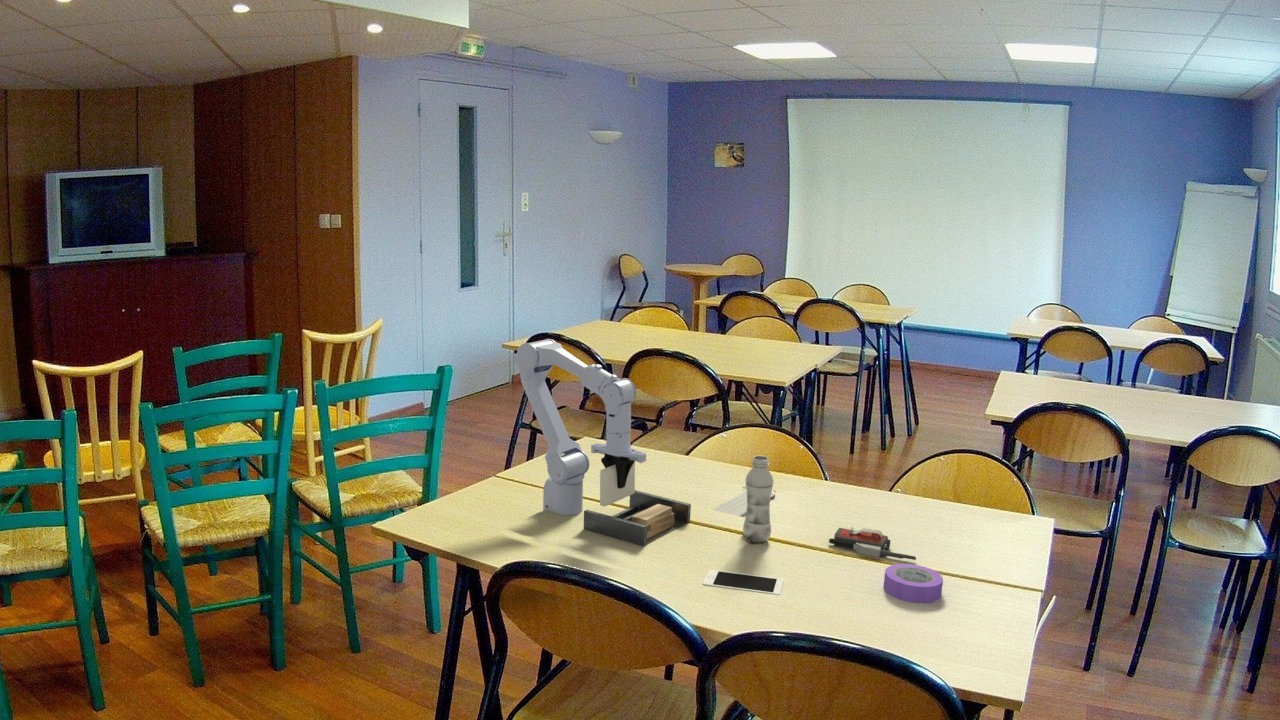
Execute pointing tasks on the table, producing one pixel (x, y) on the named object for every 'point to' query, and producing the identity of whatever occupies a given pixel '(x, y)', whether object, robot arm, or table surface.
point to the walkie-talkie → (865, 542)
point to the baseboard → (736, 505)
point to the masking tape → (913, 583)
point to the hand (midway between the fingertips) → (617, 486)
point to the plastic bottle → (758, 501)
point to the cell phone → (744, 582)
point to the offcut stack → (655, 519)
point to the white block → (615, 485)
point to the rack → (631, 531)
